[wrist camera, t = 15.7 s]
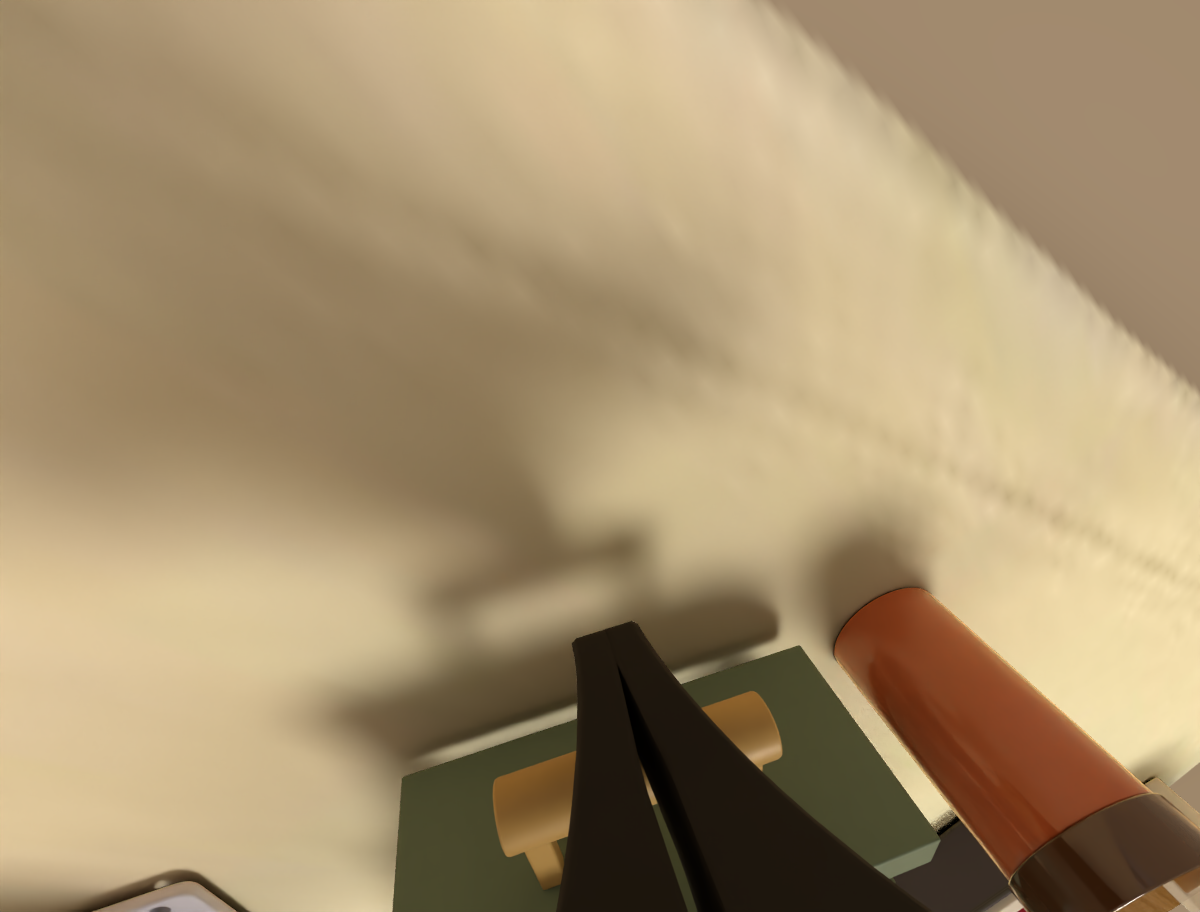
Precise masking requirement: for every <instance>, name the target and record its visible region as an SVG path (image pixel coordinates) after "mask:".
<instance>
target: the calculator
mask: <svg viewBox="0 0 1200 912" xmlns="http://www.w3.org/2000/svg"><path fill="white" fill-rule="evenodd" d="M939 837H940V843H939V845H938V847H937V849H936V851H935V853H934V855H933V858H932V860H931V861H930V862H928V863H926V864H923V865H921V866H919V867H916V868H914V869H911V870H909V871H907V872H904V873H902V874H899V875H897V876H895V877H893V879H894V880H895V882H896V884H897V885H898V886H900V887H901V888H902V889H903V890H905V891H906V892H907V893H909V894H910V895H911V896H913V897H914V898H915V899H917V900H918V901H920V902H921V903H922V904H924V905H925V906H926V907H928V908H929V909H931V910H932V911H933V912H1026V910H1025V909H1024V908H1023V906H1022V905H1021V904H1020V903H1019V901H1018V900H1017V899H1016V897H1015V896H1014V895H1013V894H1012V892H1011V891H1010V889H1009V887H1008V883H1009V882H1008V881H1007V879H1006V878H1005V877H1004V876H1003V874H1002V873H1001V872H1000V870H999V869H998V868H997V867H996V865H995V864H994V863H993V862H992V860H991V859H990V858H989V856H988V855H987V854H986V853H985V851H984V850H983V849H982V847H981V846H980V845H979V844H978V842H977V841H976V840H975V838H974V837H973V836H972V835H971V833H970V832H969V831H968V829H967V828H966V827H965V826H964V824H963V823H962V822H961V820H959V821H958V822H957V823H955V824H954V825H953V826H952V827H950V828H949V829H948V830H946V831H945V832H944V833H942V834H941V835H940V836H939Z"/></svg>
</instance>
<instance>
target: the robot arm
mask: <svg viewBox="0 0 1200 912" xmlns="http://www.w3.org/2000/svg"><path fill="white" fill-rule="evenodd" d="M572 647H573V652H574V657H575V666H576V676H577V744H576V760H575V772H574V784H573V796H572V806H571V815H570V824H569V831H568V839H567V846H566V853H565V860H564V867H563V874H562V880H561V886H560V891H559V897H558V903H557V909H556V912H688V910H687V907H686V904H685V901H684V898H683V895H682V892H681V889H680V886H679V883H678V880H677V877H676V874H675V872H674V869H673V866H672V863H671V860H670V857H669V854H668V851H667V848H666V845H665V842H664V839H663V836H662V833H661V830H660V827H659V824H658V821H657V818H656V815H655V812H654V809H653V806H652V803H651V800H650V797H649V794H648V791H647V788H646V784H645V780H644V777H643V773H642V770H641V766H640V762H639V759H640V761H641V764H642V766H643V769H644V771H645V774H646V776H647V779H648V781H649V784H650V786H651V789H652V791H653V793H654V796H655V798H656V801H657V803H658V806H659V808H660V811H661V813H662V816H663V818H664V821H665V823H666V826H667V828H668V831H669V833H670V836H671V838H672V840H673V843H674V845H675V848H676V850H677V853H678V856H679V859H680V861H681V864H682V867H683V869H684V872H685V875H686V878H687V881H688V884H689V887H690V890H691V893H692V896H693V900H694V903H695V906H696V909H697V912H933V911H932V910H931V909H929V908H928V907H926V906H925V905H924V904H922V903H921V902H920V901H918V900H917V899H915V898H914V897H913V896H911V895H910V894H909V893H907V892H906V891H905V890H903V889H902V888H901V887H900V886H898V885H897V884H896V883H894V882H893V881H892V880H890V879H889V878H888V877H886V876H885V875H884V874H882V873H881V872H880V871H878V870H877V869H876V868H875V867H873V866H872V865H871V864H869V863H868V862H867V861H866V860H864V859H863V858H862V857H861V856H860V855H858V854H857V853H856V852H855V851H853V850H852V849H851V848H850V847H849V846H847V845H846V844H845V843H844V842H842V841H841V840H840V839H839V838H838V837H836V836H835V835H834V834H833V833H831V832H830V831H829V830H828V829H827V828H825V827H824V826H823V825H822V824H820V823H819V822H818V821H817V820H816V819H814V818H813V817H812V816H811V815H810V814H809V813H807V812H806V811H805V810H804V809H803V808H802V807H801V806H800V805H798V804H797V803H796V802H795V801H794V800H793V799H792V798H790V797H789V796H788V795H787V794H786V793H785V792H784V791H783V790H782V789H780V788H779V787H778V786H777V785H776V784H775V783H774V782H773V781H772V780H771V779H770V778H769V777H768V776H767V775H765V774H764V773H763V772H762V771H761V770H760V769H759V768H758V767H757V766H756V765H755V764H754V763H753V762H752V761H751V760H750V759H749V758H748V757H747V756H746V755H745V754H744V753H743V752H742V751H741V750H740V749H739V748H738V747H737V746H736V745H735V744H734V743H733V742H732V741H731V740H730V739H729V738H728V737H727V736H726V735H725V734H724V733H723V731H722V730H721V729H720V728H719V727H718V726H717V725H716V724H715V723H714V722H713V721H712V720H711V719H710V717H709V716H708V715H707V714H706V713H705V712H704V711H703V710H702V708H701V707H700V706H699V705H698V704H697V703H696V702H695V700H694V699H693V698H692V697H691V696H690V695H689V693H688V692H687V691H686V690H685V689H684V688H683V686H682V685H681V684H680V683H679V681H678V680H677V679H676V678H675V677H674V675H673V674H672V673H671V671H670V670H669V669H668V668H667V666H666V665H665V664H664V662H663V661H662V660H661V658H660V657H659V656H658V654H657V653H656V651H655V650H654V649H653V647H652V646H651V644H650V643H649V641H648V640H647V638H646V637H645V635H644V634H643V632H642V630H641V629H640V627H639V625H638V623H635V622H633V621H631V622H628V623H624V624H621V625H618V626H615V627H612V628H608V629H605V630H602V631H599V632H595V633H592V634H589V635H586V636H583V637H579V638H576V639H575V641H574V642H573V643H572ZM638 756H639V757H638ZM93 912H237V911H235V910H234V909H233V908H231V907H230V906H229V905H227V904H226V903H225V902H223V901H222V900H221V899H219V898H218V897H216V896H215V895H214V894H212V893H211V892H210V891H208V890H207V889H206V888H204V887H203V886H202V885H200V884H199V883H196V882H191V881H185V882H179V883H175V884H172V885H169V886H166V887H163V888H160V889H157V890H154V891H151V892H148V893H146V894H143V895H140V896H137V897H134V898H131V899H128V900H125V901H122V902H119V903H116V904H113V905H110V906H107V907H104V908H101V909H99V910H96V911H93Z"/></svg>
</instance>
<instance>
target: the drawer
mask: <svg viewBox="0 0 1200 912" xmlns="http://www.w3.org/2000/svg"><path fill="white" fill-rule="evenodd" d="M681 685H682V686H683V688H684V689H685V690H686V691H687V692H688V693H689V695H690V696H691V697H692V698H693V699H694V700H695V702H696V703H697V704H698V705H699V706H700V707H701V708H702V710H703V711H704V712H705V713H706V714H707V715H708V716H709V717H710V719H711V720H712V721H713V722H714V723H715V724H716V725H717V726H718V727H719V728H720V729H721V730H722V731H723V733H724V734H725V735H726V736H727V737H728V738H729V739H730V740H731V741H732V742H733V743H734V744H735V745H736V746H737V747H738V748H739V749H740V750H741V751H742V752H743V753H744V754H745V755H746V756H747V757H748V758H749V759H750V760H751V761H752V762H753V763H754V764H755V765H756V766H757V767H758V768H759V769H760V770H761V771H762V772H763V773H764V774H765V775H767V776H768V777H769V778H770V779H771V780H772V781H773V782H774V783H775V784H776V785H777V786H778V787H779V788H780V789H782V790H783V791H784V792H785V793H786V794H787V795H788V796H789V797H790V798H792V799H793V800H794V801H795V802H796V803H797V804H798V805H800V806H801V807H802V808H803V809H804V810H805V811H806V812H807V813H809V814H810V815H811V816H812V817H813V818H814V819H816V820H817V821H818V822H819V823H820V824H822V825H823V826H824V827H825V828H827V829H828V830H829V831H830V832H831V833H833V834H834V835H835V836H836V837H838V838H839V839H840V840H841V841H842V842H844V843H845V844H846V845H847V846H849V847H850V848H851V849H852V850H853V851H855V852H856V853H857V854H858V855H860V856H861V857H862V858H863V859H864V860H866V861H867V862H868V863H869V864H871V865H872V866H873V867H875V868H876V869H877V870H878V871H880V872H881V873H882V874H884V875H885V876H886V877H888V878H889V879H890V880H892V881H893V882H894V883H896V882H895V880H894V879H893V877H895V876H897V875H899V874H902V873H904V872H907V871H909V870H911V869H914V868H916V867H919V866H921V865H923V864H926V863H928V862H930V861H931V860H932V858H933V855H934V853H935V851H936V849H937V847H938V845H939V843H940V837H939V836H938V834H937V833H936V832H935V830H934V829H933V828H932V826H931V825H930V823H929V822H928V821H927V819H926V818H925V817H924V815H923V814H922V812H921V811H920V810H919V808H918V807H917V806H916V804H915V803H914V801H913V800H912V799H911V797H910V796H909V795H908V793H907V792H906V790H905V789H904V788H903V786H902V785H901V784H900V782H899V781H898V779H897V778H896V777H895V775H894V774H893V773H892V771H891V770H890V768H889V767H888V766H887V764H886V763H885V762H884V760H883V759H882V758H881V756H880V755H879V753H878V752H877V751H876V749H875V748H874V747H873V745H872V744H871V742H870V741H869V740H868V738H867V737H866V736H865V734H864V733H863V731H862V730H861V729H860V727H859V726H858V725H857V723H856V722H855V720H854V719H853V718H852V716H851V715H850V714H849V712H848V711H847V709H846V708H845V707H844V705H843V704H842V703H841V701H840V700H839V698H838V697H837V696H836V694H835V693H834V692H833V690H832V689H831V688H830V686H829V685H828V683H827V682H826V681H825V679H824V678H823V677H822V675H821V674H820V672H819V671H818V670H817V668H816V667H815V666H814V664H813V663H812V661H811V660H810V659H809V657H808V656H807V655H806V653H805V652H804V650H803V649H802V648H801V646H796V647H793V648H789V649H786V650H783V651H780V652H777V653H774V654H771V655H768V656H765V657H762V658H759V659H756V660H753V661H750V662H747V663H744V664H741V665H738V666H735V667H732V668H729V669H726V670H723V671H720V672H717V673H714V674H711V675H708V676H705V677H702V678H699V679H696V680H693V681H690V682H687V683H684V684H681ZM576 744H577V719H576V720H573V721H570V722H567V723H564V724H561V725H558V726H555V727H552V728H549V729H546V730H543V731H540V732H537V733H534V734H531V735H528V736H525V737H522V738H519V739H516V740H513V741H510V742H507V743H504V744H501V745H498V746H495V747H492V748H489V749H486V750H483V751H480V752H477V753H474V754H471V755H468V756H465V757H462V758H459V759H456V760H453V761H450V762H447V763H444V764H441V765H438V766H435V767H432V768H429V769H426V770H422V771H419V772H416V773H413V774H410V775H407V776H404V777H403V778H402V787H401V801H400V814H399V828H398V842H397V856H396V870H395V884H394V898H393V912H556V909H557V903H558V897H559V891H560V886H561V880H562V874H563V867H564V860H565V853H566V846H567V839H568V831H569V824H570V815H571V806H572V796H573V784H574V772H575V760H576ZM638 757H639V756H638ZM639 762H640V766H641V770H642V773H643V777H644V780H645V784H646V788H647V791H648V794H649V797H650V800H651V803H652V806H653V809H654V812H655V815H656V818H657V821H658V824H659V827H660V830H661V833H662V836H663V839H664V842H665V845H666V848H667V851H668V854H669V857H670V860H671V863H672V866H673V869H674V872H675V874H676V877H677V880H678V883H679V886H680V889H681V892H682V895H683V898H684V901H685V904H686V907H687V910H688V912H697V909H696V906H695V903H694V900H693V896H692V893H691V890H690V887H689V884H688V881H687V878H686V875H685V872H684V869H683V867H682V864H681V861H680V859H679V856H678V853H677V850H676V848H675V845H674V843H673V840H672V838H671V836H670V833H669V831H668V828H667V826H666V823H665V821H664V818H663V816H662V813H661V811H660V808H659V806H658V803H657V801H656V798H655V796H654V793H653V791H652V789H651V786H650V784H649V781H648V779H647V776H646V774H645V771H644V769H643V766H642V764H641V761H640V759H639Z"/></svg>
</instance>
